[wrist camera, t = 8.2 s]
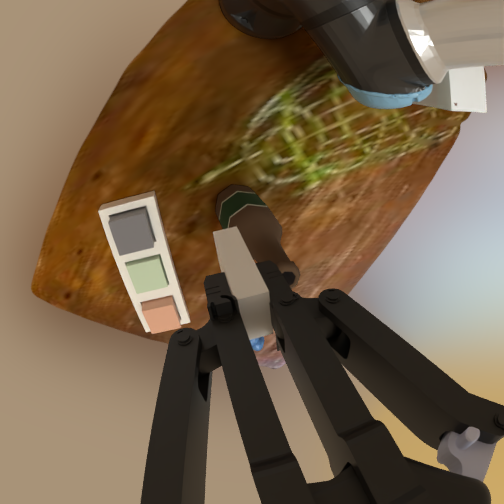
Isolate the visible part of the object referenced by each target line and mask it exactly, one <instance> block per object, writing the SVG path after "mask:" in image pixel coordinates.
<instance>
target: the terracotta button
mask: <svg viewBox="0 0 504 504" xmlns="http://www.w3.org/2000/svg"><path fill="white" fill-rule="evenodd" d="M142 313H143V315H144V317H145V320H146V322H147V324H148V326H149V328H150V331H151V333H152V334H154V333H159V332H163V331H168V330H173V329H177V328H181V323H180V317H179V314H178V311H177V308H176V305H175V302H174V300H173V297H172V295H170V296H165V297H161V298H157V299H152V300H148V301H143V302H142Z"/></svg>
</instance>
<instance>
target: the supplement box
mask: <svg viewBox="0 0 504 504" xmlns="http://www.w3.org/2000/svg"><path fill="white" fill-rule="evenodd" d="M412 104H418V105H424V106H430V107H435V108H440V109H445V110H450V111H469V112H483V113H487V107H486V89H485V75H484V66H481V67H469V68H459V69H450V70H448V71H447V73H446V74H445V76H444V78H443V80H442V82H441V83H439V84H433V88H432V91H431V93H430V94H429V95H428V96H427V97H426V98H425V99H424V100H422V101H420V102H412Z"/></svg>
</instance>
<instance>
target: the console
mask: <svg viewBox="0 0 504 504" xmlns="http://www.w3.org/2000/svg"><path fill="white" fill-rule="evenodd" d="M145 206H146V210H147V214H148V218H149V221H150V225H151V229H152V232H153V236H154V248H150V249H146V250H142V251H138V252H134V253H130V254H126V255H122V256H119V253H118V250H117V247H116V245H115V242H114V239H113V236H112V233H111V230H110V227H109V224H108V222H109V220H110V217H111V215H115V214H119V213H122V212H126V211H130V210H134V209H137V208H141V207H145ZM98 212H99V215H100V218H101V221H102V224H103V227H104V230H105V233H106V236H107V239H108V242H109V245H110V247H111V250H112V253H113V256H114V258H115V261H116V264H117V266H118V269H119V271H120V274H121V276H122V279H123V281H124V284H125V286H126V288H127V291H128V293H129V296H130V298H131V300H132V303H133V305H134V307H135V309H136V312H137V314H138V316H139V318H140V320H141V322H142V325H143V327H144V329H145V331H146V332H149V331H150V328H149V326H148V324H147V322H146V320H145V317H144V315H143V313H142V302H143V301H148V300H152V299H157V298H161V297H165V296H170V295H172V297H173V300H174V302H175V305H176V308H177V311H178V314H179V317H180V323H181V324H186V323H190V317H189V312H188V309H187V306H186V303H185V300H184V296H183V293H182V290H181V287H180V283H179V280H178V277H177V273H176V270H175V267H174V263H173V260H172V256H171V252H170V249H169V245H168V242H167V238H166V234H165V230H164V227H163V223H162V219H161V215H160V211H159V207H158V203H157V198H156V194H155V191H151V192H147V193H143V194H139V195H135V196H131V197H128V198H124V199H120V200H117V201H113V202H109V203H106V204H102V205H101V207H100V209H99V210H98ZM157 254H160V255H161V259H162V262H163V265H164V268H165V272H166V275H167V279H168V287H165V288H161V289H157V290H152V291H148V292H144V293H139V294H137V293H136V291H135V288H134V286H133V283H132V281H131V278H130V275H129V273H128V270H127V268H126V265H127V262H129V261H133V260H137V259H141V258H145V257H149V256H153V255H157Z"/></svg>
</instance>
